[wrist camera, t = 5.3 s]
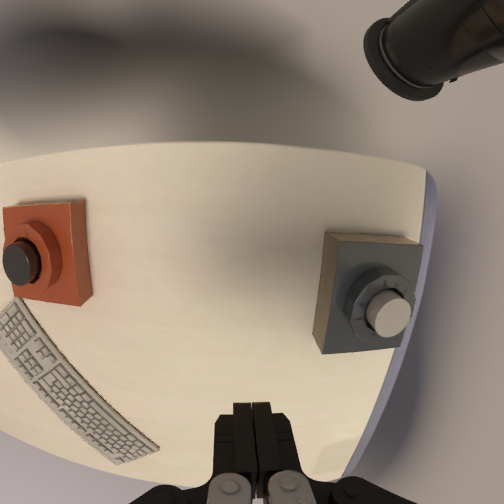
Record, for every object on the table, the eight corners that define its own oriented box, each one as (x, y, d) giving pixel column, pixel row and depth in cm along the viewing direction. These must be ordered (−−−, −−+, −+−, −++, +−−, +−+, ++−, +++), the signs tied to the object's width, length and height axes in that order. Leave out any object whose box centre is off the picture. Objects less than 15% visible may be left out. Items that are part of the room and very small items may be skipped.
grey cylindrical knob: (369, 289, 22) (380, 299, 20) (403, 288, 23) (415, 297, 21) (361, 327, 23) (370, 339, 21) (394, 325, 24) (405, 335, 22)
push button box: (325, 231, 27) (348, 246, 21) (402, 236, 27) (436, 250, 22) (311, 334, 29) (327, 366, 24) (384, 329, 30) (408, 356, 24)
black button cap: (12, 238, 20) (-1, 243, 18) (39, 239, 21) (26, 244, 19) (17, 277, 21) (6, 284, 19) (44, 281, 22) (33, 288, 20)
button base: (18, 204, 24) (-10, 210, 19) (85, 200, 25) (58, 205, 20) (28, 287, 26) (4, 303, 21) (93, 295, 27) (71, 315, 22)
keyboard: (160, 447, 33) (158, 457, 31) (118, 458, 34) (115, 466, 32) (19, 294, 26) (10, 300, 24) (-7, 325, 27) (-14, 331, 25)
